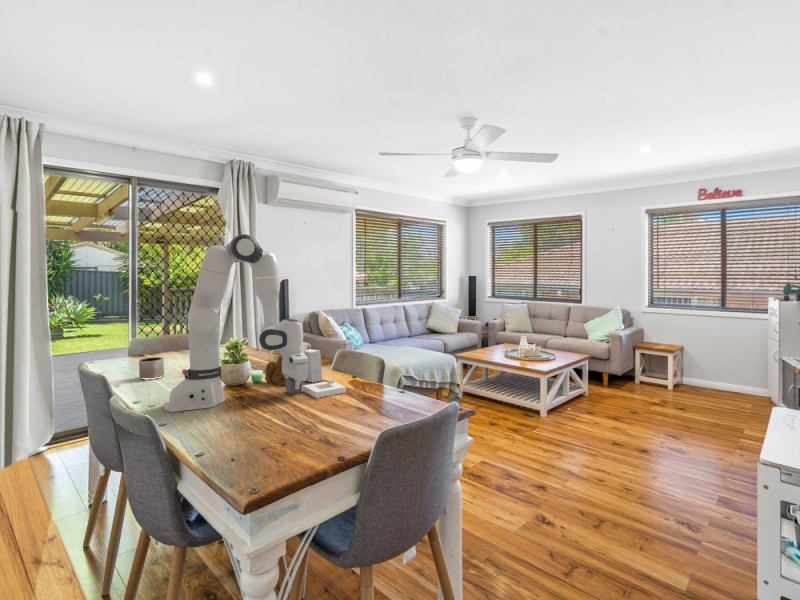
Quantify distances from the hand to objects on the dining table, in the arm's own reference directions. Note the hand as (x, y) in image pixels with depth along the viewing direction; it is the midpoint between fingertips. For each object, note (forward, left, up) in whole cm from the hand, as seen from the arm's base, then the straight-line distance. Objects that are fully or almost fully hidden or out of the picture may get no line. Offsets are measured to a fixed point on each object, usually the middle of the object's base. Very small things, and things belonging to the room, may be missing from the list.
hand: (294, 387), depth 192 cm
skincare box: (+15, +15, -2) cm, 21 cm away
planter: (-47, +70, -2) cm, 84 cm away
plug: (0, 0, -2) cm, 2 cm away
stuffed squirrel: (+1, +22, -2) cm, 22 cm away
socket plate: (+11, -7, -2) cm, 13 cm away
